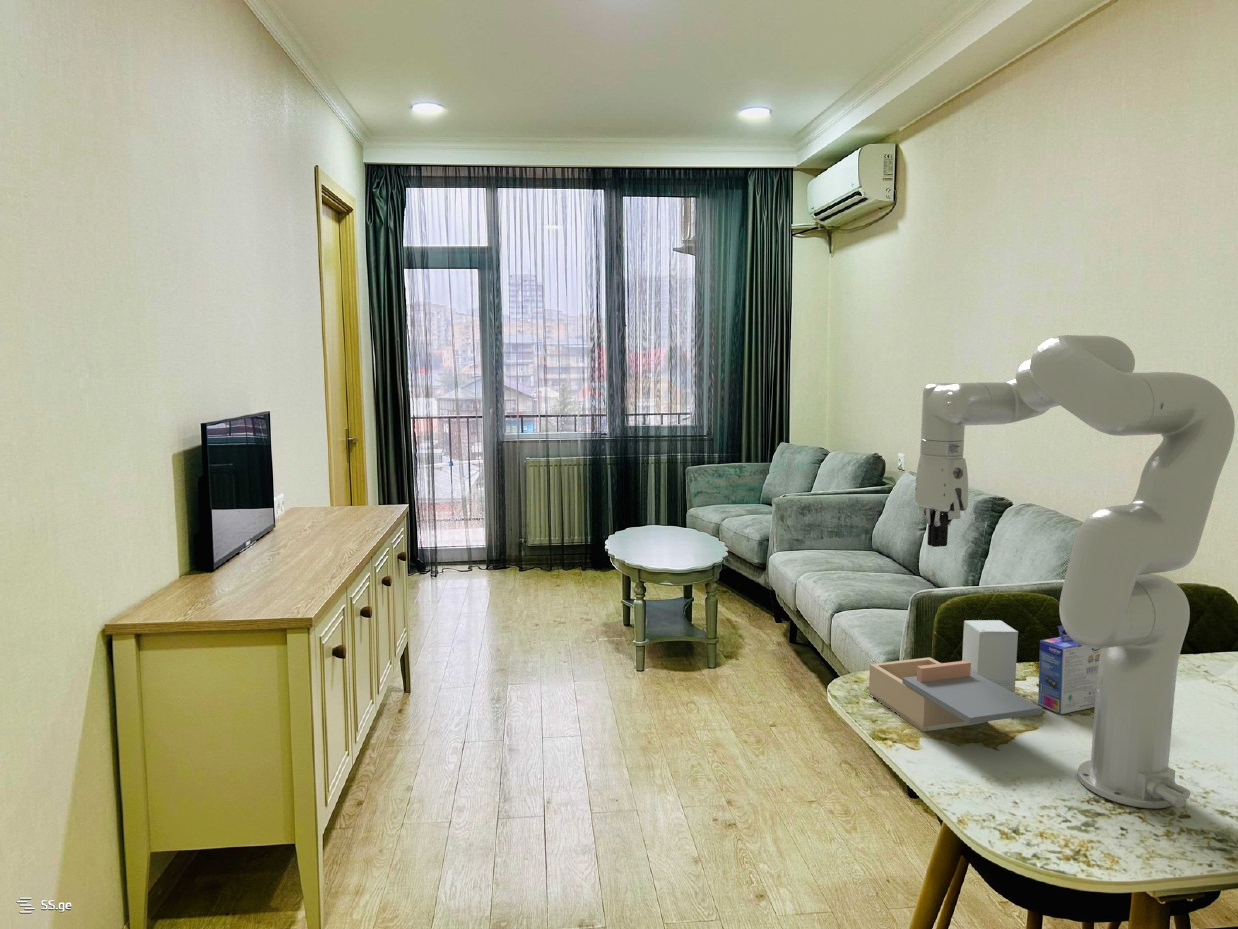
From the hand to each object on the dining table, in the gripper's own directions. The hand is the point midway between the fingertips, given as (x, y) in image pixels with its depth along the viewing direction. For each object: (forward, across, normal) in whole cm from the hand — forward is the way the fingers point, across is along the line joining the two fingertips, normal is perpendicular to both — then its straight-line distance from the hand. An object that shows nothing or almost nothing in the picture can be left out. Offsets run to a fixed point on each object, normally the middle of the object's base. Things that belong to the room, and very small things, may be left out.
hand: (937, 545), depth 156 cm
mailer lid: (+21, -21, +8) cm, 31 cm away
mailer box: (+27, -10, +8) cm, 30 cm away
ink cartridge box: (+27, -16, -17) cm, 36 cm away
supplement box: (+27, -6, -8) cm, 29 cm away
